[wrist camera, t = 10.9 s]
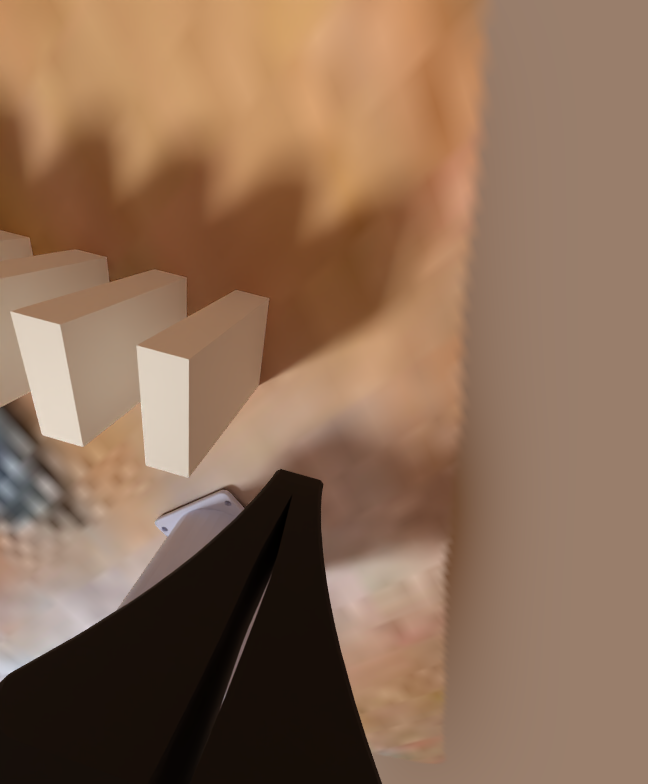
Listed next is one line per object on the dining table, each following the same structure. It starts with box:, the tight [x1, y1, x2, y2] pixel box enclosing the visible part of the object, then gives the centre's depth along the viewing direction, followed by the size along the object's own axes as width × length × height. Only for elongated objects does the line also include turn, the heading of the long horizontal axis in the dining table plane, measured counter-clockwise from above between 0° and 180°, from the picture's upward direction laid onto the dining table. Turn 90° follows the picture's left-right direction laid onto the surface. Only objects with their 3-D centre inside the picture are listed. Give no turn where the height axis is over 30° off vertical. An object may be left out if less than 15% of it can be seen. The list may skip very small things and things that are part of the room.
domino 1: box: [0, 249, 110, 407], centre depth 17 cm, size 2×5×8 cm, turn 169°
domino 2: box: [10, 269, 187, 447], centre depth 16 cm, size 2×5×8 cm, turn 169°
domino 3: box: [136, 290, 269, 478], centre depth 16 cm, size 2×5×8 cm, turn 169°
